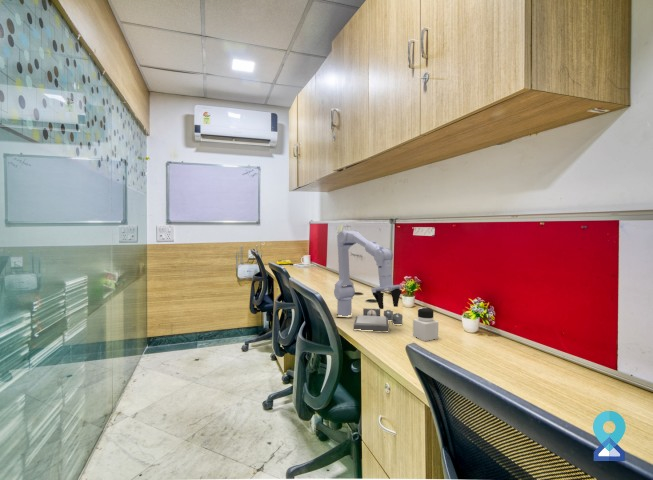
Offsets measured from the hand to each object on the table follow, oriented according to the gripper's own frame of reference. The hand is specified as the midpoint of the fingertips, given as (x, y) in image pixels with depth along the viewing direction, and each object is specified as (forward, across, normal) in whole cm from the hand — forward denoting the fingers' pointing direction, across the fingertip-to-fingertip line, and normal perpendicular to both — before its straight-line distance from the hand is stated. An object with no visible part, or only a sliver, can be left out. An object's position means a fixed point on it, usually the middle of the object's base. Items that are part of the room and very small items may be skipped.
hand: (388, 307), depth 136 cm
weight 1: (+8, +10, +16) cm, 20 cm away
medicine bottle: (+12, +8, -12) cm, 19 cm away
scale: (+9, -3, +10) cm, 14 cm away
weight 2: (+10, +10, +8) cm, 16 cm away
